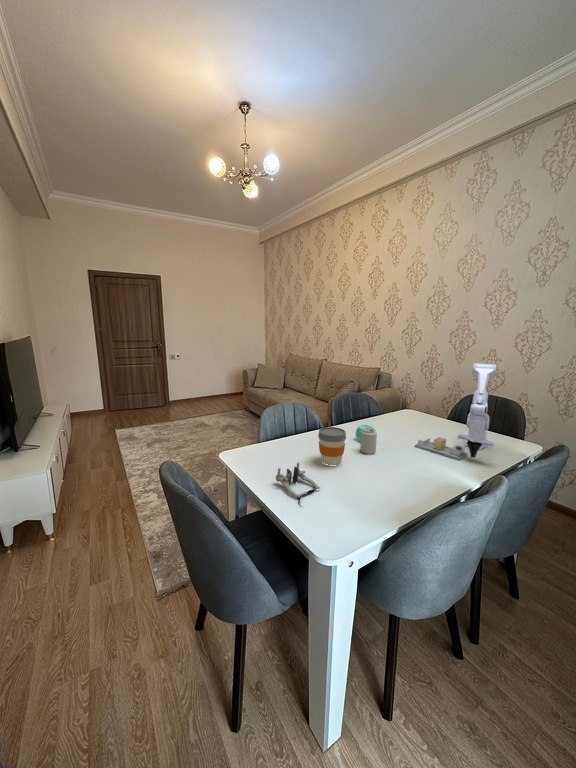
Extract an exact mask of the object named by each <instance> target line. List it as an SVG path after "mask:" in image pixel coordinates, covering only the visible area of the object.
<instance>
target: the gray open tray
mask: <svg viewBox="0 0 576 768" xmlns="http://www.w3.org/2000/svg"><path fill="white" fill-rule="evenodd" d="M433 443H434V441H431V437H428V436H423V437H421V438H419V439H418V440H417V443H416V444H415V445H414V448H417V449H421V450H422V451H426V452H430V453H432V454H436V455H439V456H441V457H442V456H443V457H446V458H449V459H452V460H455V461H461V460H463V459H464V458H465V457H467V456H468V455H469V454H468V452H466V451H464V454H462V455H461V456H459V457H458V456H455V455H452V454H450V449H451V448H452V446H448V445H446V446H445V449H443V450H442V451H438V450H435V449H433Z"/></svg>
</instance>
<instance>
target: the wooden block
mask: <svg viewBox="0 0 576 768" xmlns="http://www.w3.org/2000/svg"><path fill="white" fill-rule="evenodd" d="M433 442H434V443H433V449H435V450H438V451H442V450H443V449H445V446H447V444H446V443H447V439H446V438H444V437H440V436H439V437H437V438H434V439H433Z"/></svg>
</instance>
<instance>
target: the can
mask: <svg viewBox="0 0 576 768" xmlns="http://www.w3.org/2000/svg"><path fill="white" fill-rule="evenodd" d="M377 433H378V432H377V431H376V428H375V427H374V428H368V427H367V428H363V430H362V431H361V442H360V448H359V450H360V451H361V452H362V454H365V453H366V454H365V455H373V454H374V453H376V451H377V450H376V449H377V435H378V434H377Z"/></svg>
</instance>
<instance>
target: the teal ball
mask: <svg viewBox="0 0 576 768" xmlns="http://www.w3.org/2000/svg"><path fill="white" fill-rule="evenodd" d="M367 427H368V428H374V429H375V427H374V426H373V425H370V424H360V425H359V426H357V428H356V430H355V438H356V439H357V440H358V442H359V441H360V442H359V443H361V431H362V430H363V428H367Z"/></svg>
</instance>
